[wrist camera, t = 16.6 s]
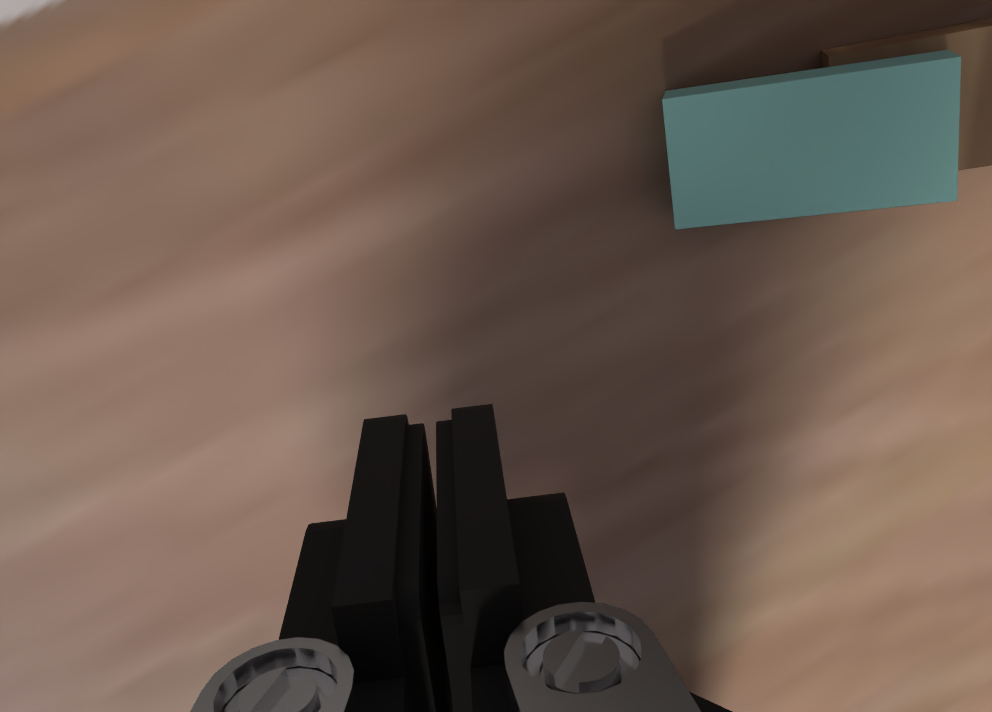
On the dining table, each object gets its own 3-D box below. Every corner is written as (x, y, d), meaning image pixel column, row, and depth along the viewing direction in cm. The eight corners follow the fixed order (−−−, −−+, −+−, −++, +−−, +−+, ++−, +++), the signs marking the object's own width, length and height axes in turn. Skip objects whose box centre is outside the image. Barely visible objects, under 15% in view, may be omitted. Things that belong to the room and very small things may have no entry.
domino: (821, 50, 35) (1115, -6, 32) (829, 176, 36) (1108, 133, 34) (828, 56, 33) (1140, -2, 30) (836, 188, 35) (1130, 144, 32)
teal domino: (665, 90, 35) (948, 49, 32) (677, 215, 37) (945, 186, 34) (661, 99, 33) (961, 56, 30) (674, 229, 35) (957, 200, 32)
